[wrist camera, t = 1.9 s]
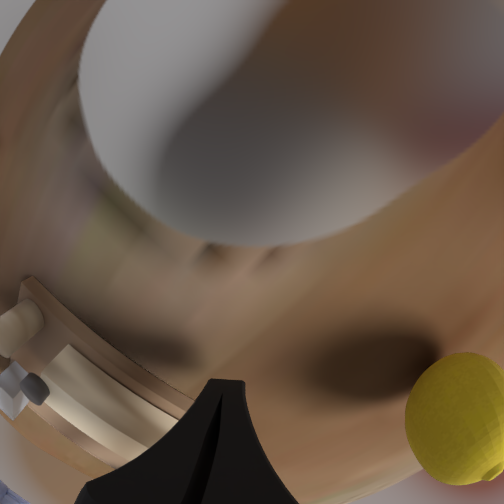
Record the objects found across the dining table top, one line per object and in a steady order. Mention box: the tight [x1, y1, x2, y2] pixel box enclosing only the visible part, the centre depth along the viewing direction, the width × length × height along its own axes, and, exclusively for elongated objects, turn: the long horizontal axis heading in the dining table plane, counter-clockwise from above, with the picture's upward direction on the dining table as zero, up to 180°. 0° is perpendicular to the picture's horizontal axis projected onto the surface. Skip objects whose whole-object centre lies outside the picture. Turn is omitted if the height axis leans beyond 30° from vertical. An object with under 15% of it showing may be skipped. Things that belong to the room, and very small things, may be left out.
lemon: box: [405, 352, 504, 485], centre depth 8 cm, size 6×6×8 cm
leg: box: [20, 344, 178, 461], centre depth 11 cm, size 10×2×3 cm, turn 53°
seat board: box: [0, 276, 195, 469], centre depth 12 cm, size 14×12×4 cm
